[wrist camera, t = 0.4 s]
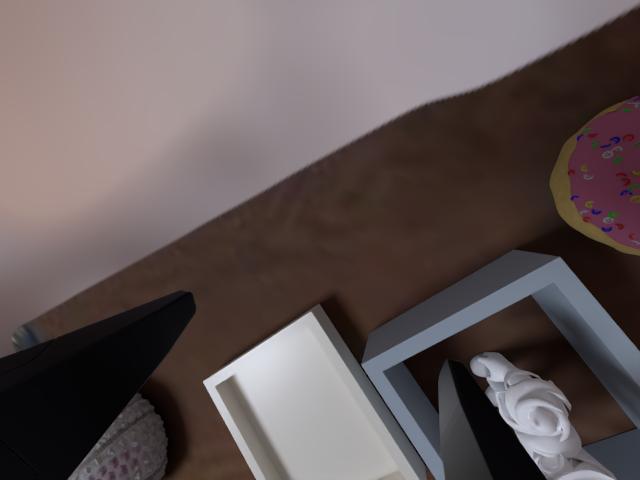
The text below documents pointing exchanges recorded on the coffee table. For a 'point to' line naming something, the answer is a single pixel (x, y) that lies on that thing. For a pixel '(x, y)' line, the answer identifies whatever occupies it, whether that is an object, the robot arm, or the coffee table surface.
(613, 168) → the cupcake
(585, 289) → the deep square frame
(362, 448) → the tray
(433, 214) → the coffee table surface
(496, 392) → the flower shoulder figurine
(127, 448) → the sea urchin shell
